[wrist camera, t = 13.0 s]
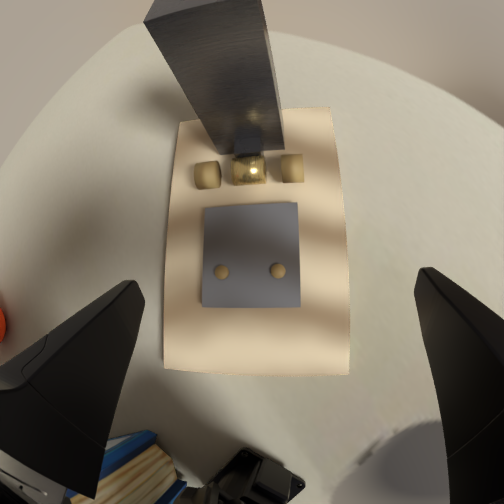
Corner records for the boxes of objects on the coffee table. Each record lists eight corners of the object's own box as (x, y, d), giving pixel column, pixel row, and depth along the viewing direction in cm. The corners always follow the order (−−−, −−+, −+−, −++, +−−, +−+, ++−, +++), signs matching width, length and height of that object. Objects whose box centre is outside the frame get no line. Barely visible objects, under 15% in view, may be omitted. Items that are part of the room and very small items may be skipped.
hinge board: (346, 371, 20) (353, 381, 17) (170, 366, 22) (150, 372, 19) (329, 114, 24) (330, 91, 21) (184, 128, 27) (171, 109, 23)
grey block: (287, 187, 22) (256, 33, 8) (218, 192, 23) (123, 64, 9) (283, 121, 24) (255, -26, 10) (221, 127, 25) (156, -4, 11)
